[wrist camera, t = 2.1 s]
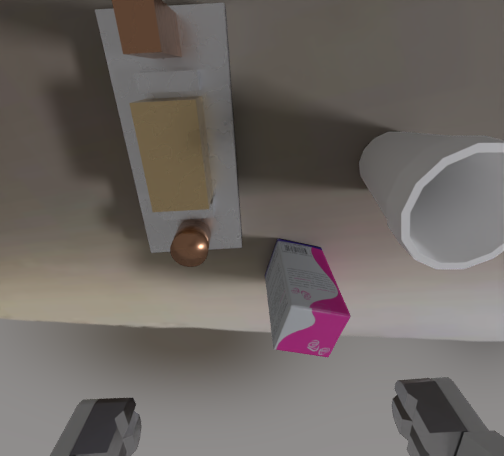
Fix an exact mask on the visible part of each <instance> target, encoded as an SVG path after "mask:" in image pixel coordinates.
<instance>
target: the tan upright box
mask: <svg viewBox="0 0 504 456" xmlns="http://www.w3.org/2000/svg"><path fill="white" fill-rule="evenodd" d="M129 104H130V109H131V113H132V118H133V123H134V127H135V132H136V137H137V141H138V146H139V151H140V155H141V160H142V165H143V169H144V174H145V179H146V183H147V188H148V193H149V197H150V202H151V207H152V211H153V212H168V211H186V210H204V209H209V208H210V204H211V199H212V195H213V189H212V180H211V171H210V162H209V153H208V144H207V135H206V126H205V118H204V109H203V100H202V96H190V97H171V98H153V99H143V100H139V101H135V102H131V103H129Z"/></svg>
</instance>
